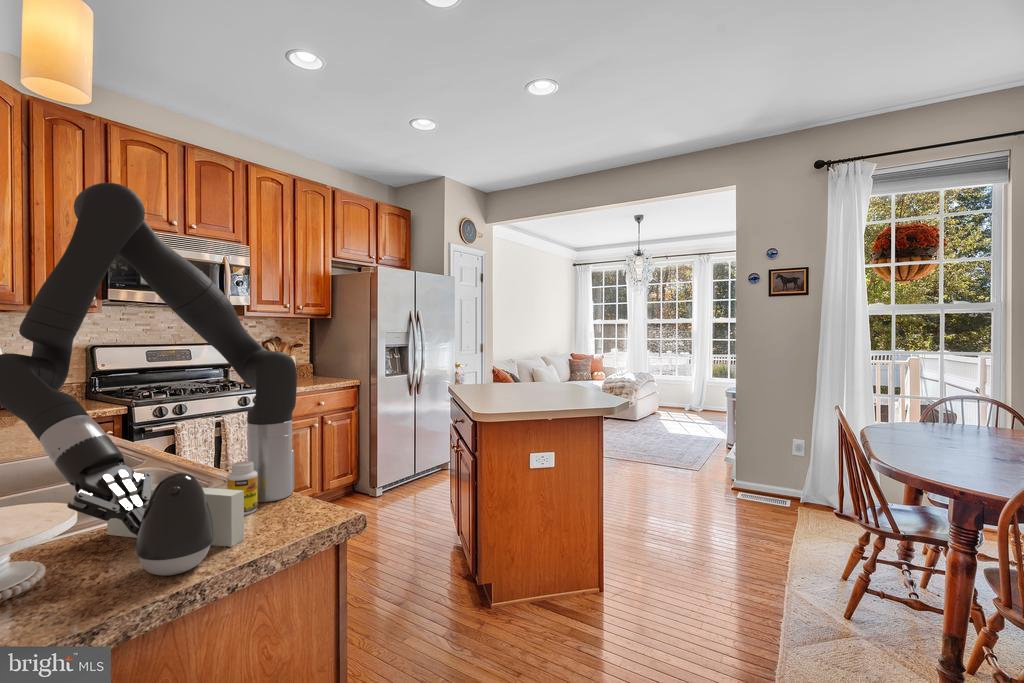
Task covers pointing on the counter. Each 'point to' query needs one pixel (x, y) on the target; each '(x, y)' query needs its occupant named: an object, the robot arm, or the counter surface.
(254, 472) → the supplement bottle
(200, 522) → the dark grey egg device
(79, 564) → the counter surface
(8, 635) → the counter surface
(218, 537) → the rectangular box with label
